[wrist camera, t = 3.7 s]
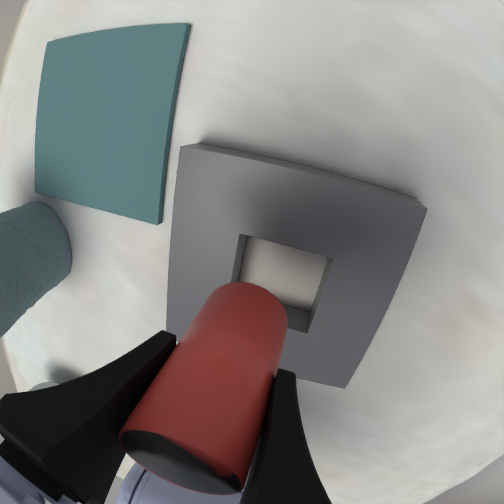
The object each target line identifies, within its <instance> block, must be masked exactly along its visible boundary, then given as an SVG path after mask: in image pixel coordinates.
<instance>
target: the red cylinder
mask: <svg viewBox="0 0 504 504" xmlns="http://www.w3.org/2000/svg"><path fill="white" fill-rule="evenodd" d="M287 327H288V319H287V314H286V311H285V309H284V307H283V306H282V304H281V303H280V301H279V300H278V299H277V298H276V297H275V296H274V295H273V294H271V293H270V292H269V291H267V290H266V289H264V288H262V287H260V286H257V285H254V284H250V283H244V282H234V283H229V284H225V285H223V286H220V287H219V288H217V289H216V290H215V291H213V292H212V294H211V295H210V296H209V298H208V299H207V301H206V302H205V304H204V305H203V307H202V308H201V310H200V311H199V312H198V314H197V315H196V317H195V318H194V320H193V321H192V323H191V324H190V326H189V327H188V329H187V330H186V332H185V333H184V335H183V336H182V338H181V339H180V341H179V342H178V344H177V345H176V347H175V348H174V350H173V351H172V353H171V354H170V356H169V357H168V359H167V360H166V362H165V363H164V365H163V366H162V368H161V369H160V371H159V372H158V374H157V375H156V377H155V378H154V380H153V381H152V383H151V384H150V386H149V387H148V389H147V390H146V392H145V394H144V395H143V397H142V398H141V400H140V401H139V403H138V404H137V406H136V407H135V409H134V410H133V412H132V413H131V415H130V416H129V418H128V419H127V421H126V422H125V424H124V425H123V427H122V429H121V430H120V432H119V434H118V439H119V442H120V444H121V446H122V447H123V449H124V450H125V451H126V453H127V454H128V455H129V456H130V457H131V458H132V459H133V460H135V461H136V462H137V463H138V464H139V465H141V466H142V467H143V468H145V469H146V470H148V471H149V472H151V473H153V474H154V475H156V476H158V477H160V478H162V479H163V480H166V481H168V482H170V483H172V484H174V485H177V486H180V487H182V488H185V489H188V490H192V491H195V492H199V493H204V494H211V495H232V494H236V493H239V492H241V491H242V490H243V489H244V486H245V483H246V480H247V477H248V473H249V470H250V467H251V463H252V460H253V457H254V453H255V450H256V447H257V443H258V440H259V436H260V433H261V429H262V425H263V422H264V418H265V415H266V411H267V407H268V403H269V398H270V394H271V390H272V386H273V383H274V379H275V376H276V373H277V369H278V365H279V361H280V357H281V353H282V348H283V344H284V340H285V336H286V332H287Z"/></svg>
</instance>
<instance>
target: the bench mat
mask: <svg viewBox="0 0 504 504" xmlns="http://www.w3.org/2000/svg"><path fill="white" fill-rule="evenodd" d="M190 27H191V25H189V24H187V23H177V24H156V25H143V26H133V27H124V28H116V29H109V30H103V31H97V32H91V33H85V34H80V35H76V36H71V37H66V38H62V39H58V40H54V41H50V42H47V46H46V51H45V56H44V62H43V68H42V74H41V81H40V89H39V97H38V107H37V118H36V134H35V192H36V193H39V194H43V195H47V196H51V197H54V198H58V199H62V200H66V201H69V202H73V203H77V204H80V205H84V206H88V207H92V208H95V209H99V210H103V211H107V212H110V213H114V214H118V215H121V216H125V217H129V218H133V219H136V220H140V221H144V222H147V223H151V224H155V225H159V224H160V223H162V213H163V201H164V190H165V180H166V170H167V161H168V153H169V145H170V137H171V130H172V123H173V117H174V110H175V104H176V98H177V92H178V86H179V80H180V75H181V70H182V64H183V59H184V55H185V50H186V45H187V40H188V36H189V31H190Z"/></svg>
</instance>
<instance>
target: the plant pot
mask: <svg viewBox="0 0 504 504" xmlns="http://www.w3.org/2000/svg"><path fill="white" fill-rule="evenodd" d="M71 259H72V257H71V248H70V243H69V238H68V235H67V232H66V230H65V228H64V226H63V224H62V222H61V220H60V219H59V217H58V216H57V214H56V213H55V212H54V211H53V210H52V209H51V208H50V207H49V206H47V205H46V204H44V203H42V202H30V203H27V204H25V205H22V206H20V207H17V208H14V209H11V210H8V211H5V212H2V213H0V338H1V337H2V336H3V335H4V334H5V333H6V332H7V331H8V330H9V329H10V328H11V327H12V326H13V324H14V323H15V322H16V321H17V320H18V319H19V318H20V317H21V316H22V315H23V314H24V313H25V312H26V311H27V309H28V308H30V307H32V306H34V304H35V303H36V302H37V301H38V300H39V299H40V298H41V297H42V296H43V295H44V294H46V293H47V292H48V291H49V290H51V289H52V288H54V287H55V286H57V285H58V284H59V283H60V282H61V281H62V280H63V279H64V278H65V277H66V276H67V275H68V273H69V272H70V267H71V262H72V260H71Z"/></svg>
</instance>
